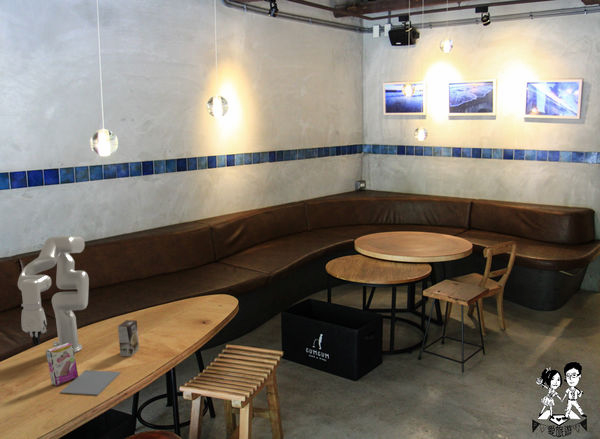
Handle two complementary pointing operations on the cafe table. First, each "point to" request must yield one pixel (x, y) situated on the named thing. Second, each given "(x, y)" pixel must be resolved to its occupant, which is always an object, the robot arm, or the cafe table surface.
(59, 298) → the robot arm
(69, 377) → the candy bar box
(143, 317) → the cafe table surface
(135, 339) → the coffee box
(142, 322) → the cafe table surface
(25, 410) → the cafe table surface
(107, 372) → the mat
